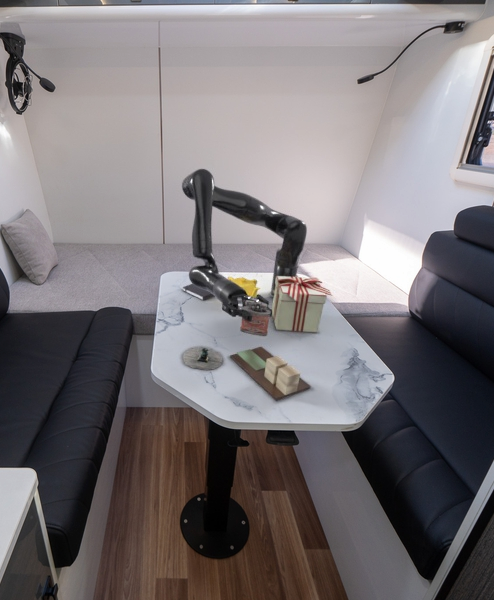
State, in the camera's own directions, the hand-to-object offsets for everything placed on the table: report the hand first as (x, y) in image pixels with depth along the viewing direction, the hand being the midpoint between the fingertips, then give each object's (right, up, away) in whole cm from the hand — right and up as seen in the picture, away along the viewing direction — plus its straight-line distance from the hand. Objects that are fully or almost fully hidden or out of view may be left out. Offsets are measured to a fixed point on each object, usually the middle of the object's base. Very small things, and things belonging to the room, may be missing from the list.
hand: (261, 316), depth 106 cm
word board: (+3, -17, +4) cm, 17 cm away
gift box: (+19, -4, +30) cm, 36 cm away
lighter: (-1, -5, +5) cm, 7 cm away
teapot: (+2, +4, +46) cm, 46 cm away
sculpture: (-16, -14, +9) cm, 23 cm away
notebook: (-10, +9, +57) cm, 59 cm away
